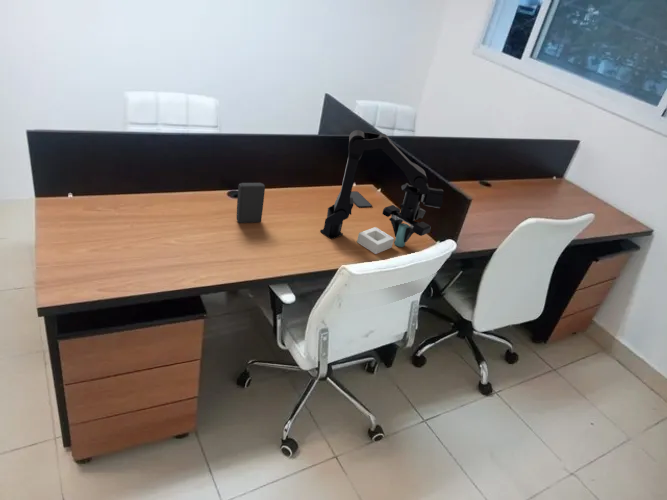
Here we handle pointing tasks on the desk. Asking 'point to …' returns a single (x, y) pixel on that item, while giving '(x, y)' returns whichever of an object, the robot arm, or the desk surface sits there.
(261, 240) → the desk surface
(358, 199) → the smartphone
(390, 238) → the socket
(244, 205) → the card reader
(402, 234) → the peg
